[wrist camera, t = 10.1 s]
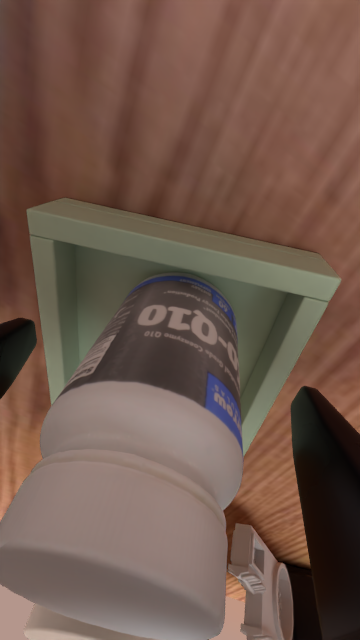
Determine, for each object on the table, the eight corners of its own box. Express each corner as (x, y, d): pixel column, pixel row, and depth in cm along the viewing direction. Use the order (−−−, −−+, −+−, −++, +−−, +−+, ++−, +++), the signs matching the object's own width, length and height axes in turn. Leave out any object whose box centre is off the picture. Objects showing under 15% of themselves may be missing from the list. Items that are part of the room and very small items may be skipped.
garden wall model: (231, 518, 20) (217, 640, 15) (255, 521, 19) (248, 651, 14) (279, 581, 25) (280, 686, 20) (300, 586, 24) (306, 696, 19)
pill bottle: (262, 314, 11) (331, 644, 4) (192, 381, 13) (153, 655, 6) (159, 242, 10) (-20, 496, 3) (105, 329, 12) (-63, 581, 5)
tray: (184, 536, 24) (181, 570, 23) (80, 510, 25) (68, 541, 23) (320, 253, 10) (343, 279, 8) (63, 196, 10) (25, 208, 8)
